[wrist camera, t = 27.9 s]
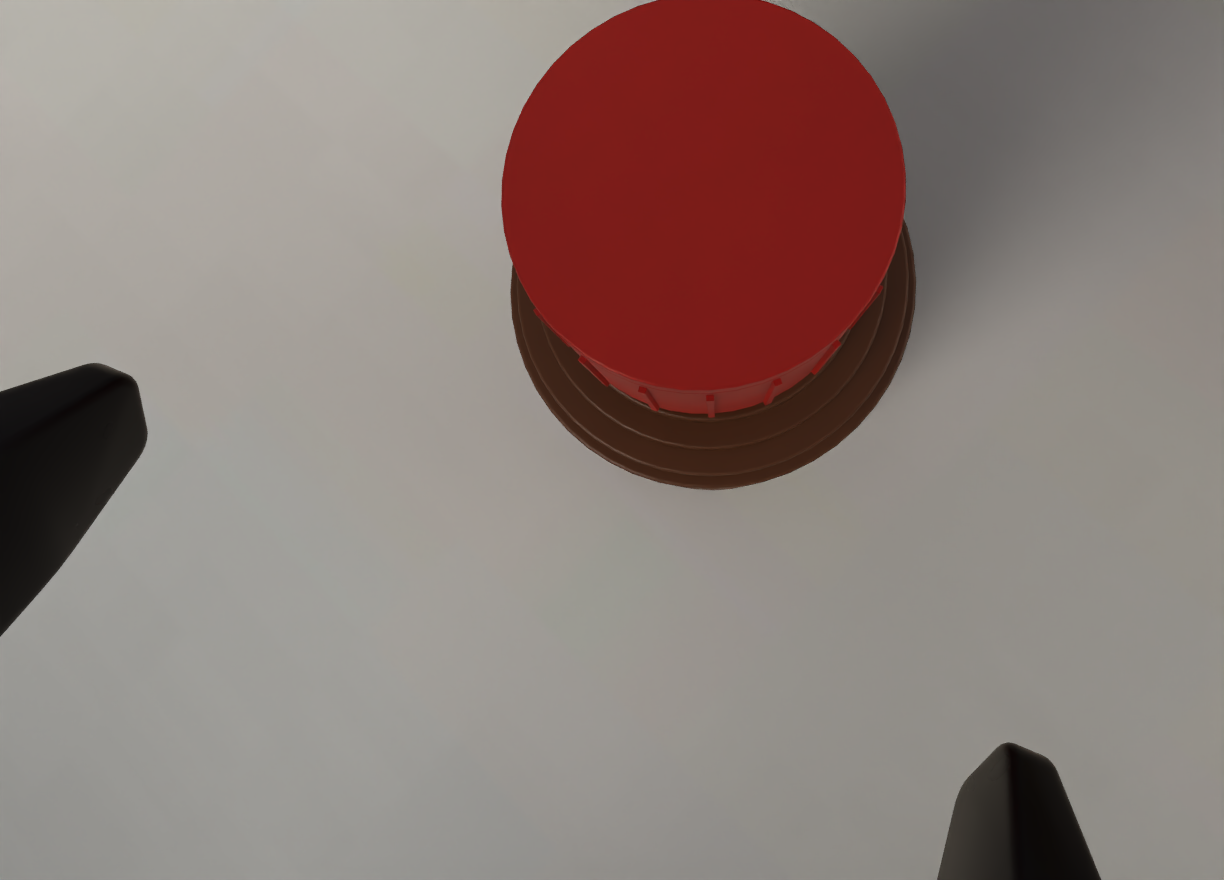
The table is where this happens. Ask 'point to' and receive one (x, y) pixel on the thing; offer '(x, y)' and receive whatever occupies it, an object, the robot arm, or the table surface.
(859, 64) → the cap
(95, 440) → the robot arm
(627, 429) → the sauce bottle
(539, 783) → the table surface
